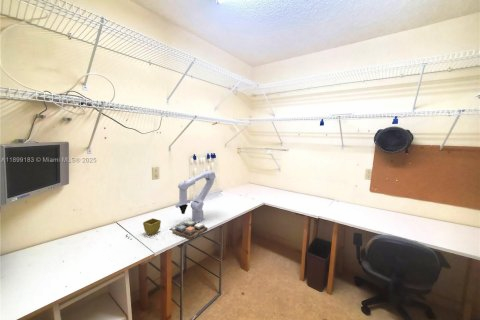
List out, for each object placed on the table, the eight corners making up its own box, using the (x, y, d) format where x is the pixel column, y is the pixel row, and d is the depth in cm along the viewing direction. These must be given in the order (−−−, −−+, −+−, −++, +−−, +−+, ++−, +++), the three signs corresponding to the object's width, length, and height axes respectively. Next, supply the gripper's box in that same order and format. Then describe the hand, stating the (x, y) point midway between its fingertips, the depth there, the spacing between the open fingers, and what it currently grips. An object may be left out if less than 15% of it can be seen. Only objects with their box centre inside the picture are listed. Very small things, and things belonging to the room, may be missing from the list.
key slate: (182, 228, 148) (182, 225, 148) (186, 229, 146) (186, 226, 146) (177, 230, 145) (177, 227, 144) (181, 231, 142) (181, 228, 142)
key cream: (198, 226, 152) (198, 223, 152) (202, 227, 150) (202, 224, 150) (194, 228, 149) (194, 225, 148) (198, 229, 146) (198, 226, 146)
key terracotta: (189, 229, 144) (189, 226, 144) (194, 230, 142) (194, 227, 142) (185, 231, 141) (185, 228, 140) (190, 233, 138) (190, 230, 138)
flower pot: (142, 234, 142) (142, 222, 141) (152, 229, 149) (152, 217, 148) (151, 237, 138) (151, 224, 137) (161, 232, 146) (161, 220, 145)
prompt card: (181, 223, 160) (181, 223, 160) (184, 224, 158) (184, 224, 158) (169, 229, 150) (169, 228, 150) (173, 230, 148) (173, 230, 148)
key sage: (190, 223, 156) (190, 220, 156) (194, 225, 154) (194, 222, 154) (186, 225, 152) (186, 222, 152) (190, 227, 150) (190, 224, 150)
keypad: (189, 224, 160) (189, 220, 159) (207, 229, 151) (207, 225, 151) (172, 233, 144) (172, 228, 144) (190, 240, 135) (190, 235, 135)
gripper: (185, 194, 165) (185, 209, 167) (172, 198, 152) (172, 215, 154) (192, 195, 162) (192, 211, 163) (179, 200, 149) (179, 217, 151)
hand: (183, 213), depth 158 cm, fingers closed
